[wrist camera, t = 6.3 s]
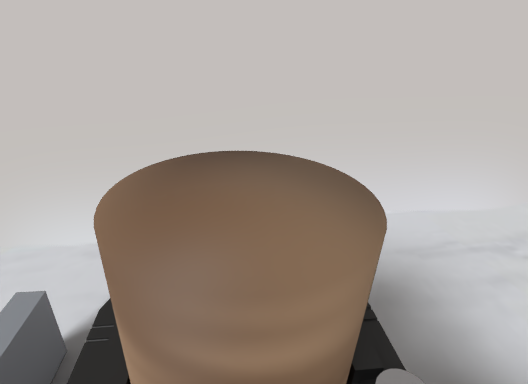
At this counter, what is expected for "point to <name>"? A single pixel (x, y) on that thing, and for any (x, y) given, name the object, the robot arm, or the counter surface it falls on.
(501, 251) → the counter surface
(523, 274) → the counter surface
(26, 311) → the low wall
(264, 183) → the walnut canister
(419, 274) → the counter surface
